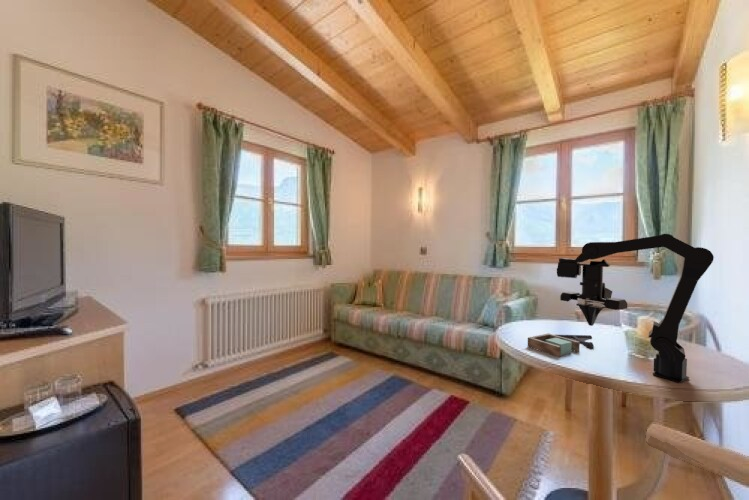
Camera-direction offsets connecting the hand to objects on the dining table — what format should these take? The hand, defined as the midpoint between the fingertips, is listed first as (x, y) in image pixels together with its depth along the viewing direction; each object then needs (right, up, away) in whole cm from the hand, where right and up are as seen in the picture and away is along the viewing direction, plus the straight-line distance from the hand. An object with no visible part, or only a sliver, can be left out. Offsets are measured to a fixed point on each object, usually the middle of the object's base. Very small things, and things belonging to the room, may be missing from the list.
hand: (591, 325), depth 111 cm
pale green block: (-6, -12, +10) cm, 16 cm away
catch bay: (-6, -12, +12) cm, 18 cm away
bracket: (+9, -12, +20) cm, 25 cm away
